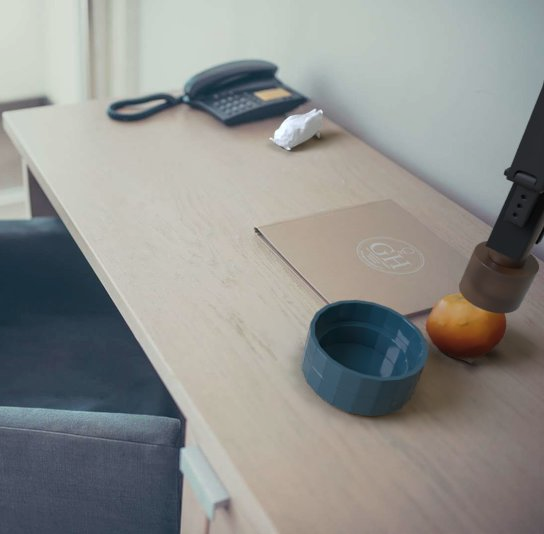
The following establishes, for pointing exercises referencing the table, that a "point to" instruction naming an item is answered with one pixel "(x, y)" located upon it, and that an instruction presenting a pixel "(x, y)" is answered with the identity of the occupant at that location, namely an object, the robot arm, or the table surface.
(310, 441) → the table surface
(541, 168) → the robot arm
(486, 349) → the fruit
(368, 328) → the bowl
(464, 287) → the muddler
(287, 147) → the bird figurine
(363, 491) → the table surface
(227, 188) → the table surface
